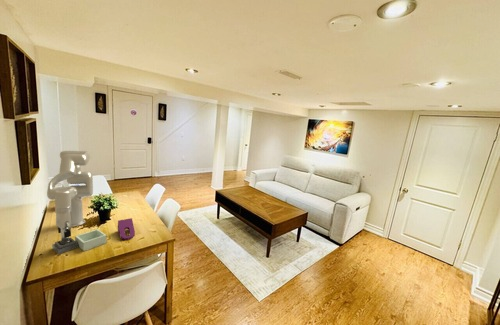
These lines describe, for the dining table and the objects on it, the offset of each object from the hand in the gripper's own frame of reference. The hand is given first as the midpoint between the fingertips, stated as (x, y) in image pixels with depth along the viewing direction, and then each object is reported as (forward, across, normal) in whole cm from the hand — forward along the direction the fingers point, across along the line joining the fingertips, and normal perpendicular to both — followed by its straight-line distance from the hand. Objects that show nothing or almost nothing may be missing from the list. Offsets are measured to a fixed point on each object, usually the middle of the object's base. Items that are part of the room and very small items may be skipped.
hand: (64, 234), depth 131 cm
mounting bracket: (+10, +10, +33) cm, 36 cm away
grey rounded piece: (+7, 0, 0) cm, 7 cm away
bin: (+10, +5, +12) cm, 17 cm away
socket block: (+10, -1, 0) cm, 10 cm away
